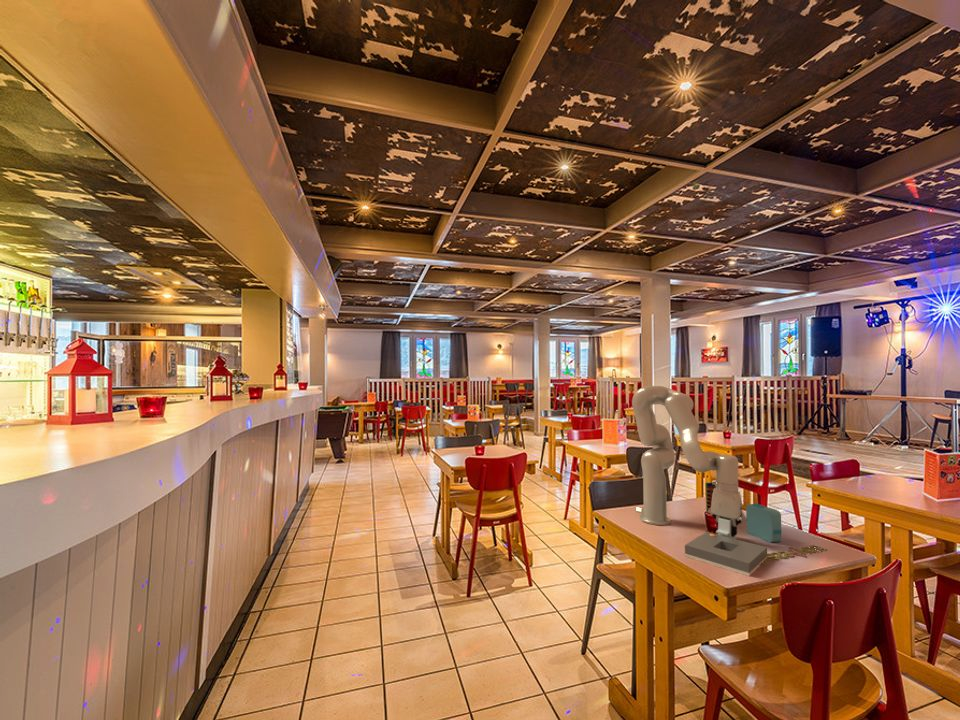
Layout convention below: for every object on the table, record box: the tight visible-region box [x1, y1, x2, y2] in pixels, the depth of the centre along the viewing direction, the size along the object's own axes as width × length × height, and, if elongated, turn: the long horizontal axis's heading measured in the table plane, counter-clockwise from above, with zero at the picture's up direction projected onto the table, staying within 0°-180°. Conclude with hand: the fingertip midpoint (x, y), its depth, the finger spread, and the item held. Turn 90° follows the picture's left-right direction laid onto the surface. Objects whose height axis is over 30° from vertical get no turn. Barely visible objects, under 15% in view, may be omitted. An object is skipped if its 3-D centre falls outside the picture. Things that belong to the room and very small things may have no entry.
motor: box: [705, 482, 716, 512], centre depth 191 cm, size 10×9×20 cm
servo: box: [715, 516, 738, 539], centre depth 167 cm, size 4×12×9 cm, turn 132°
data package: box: [745, 503, 783, 543], centre depth 170 cm, size 12×4×12 cm, turn 14°
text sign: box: [759, 544, 828, 567], centre depth 153 cm, size 40×1×8 cm
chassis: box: [684, 531, 768, 577], centre depth 150 cm, size 20×20×4 cm
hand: (726, 533), depth 166 cm, fingers closed on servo, 4 cm apart
